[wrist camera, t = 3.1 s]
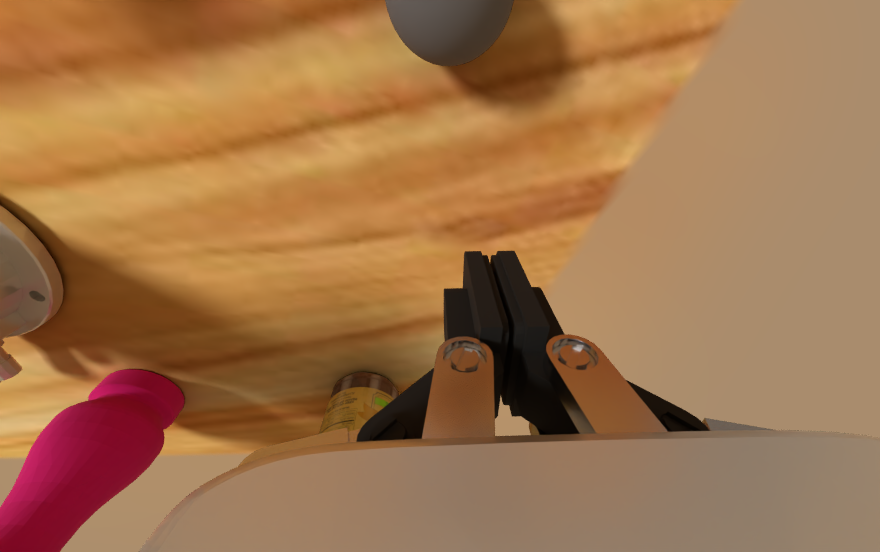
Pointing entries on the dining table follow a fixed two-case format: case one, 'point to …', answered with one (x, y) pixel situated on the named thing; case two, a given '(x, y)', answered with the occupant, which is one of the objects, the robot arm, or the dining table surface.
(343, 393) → the sauce bottle
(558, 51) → the dining table surface
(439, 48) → the dark gray ball
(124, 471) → the pepper mill
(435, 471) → the robot arm
